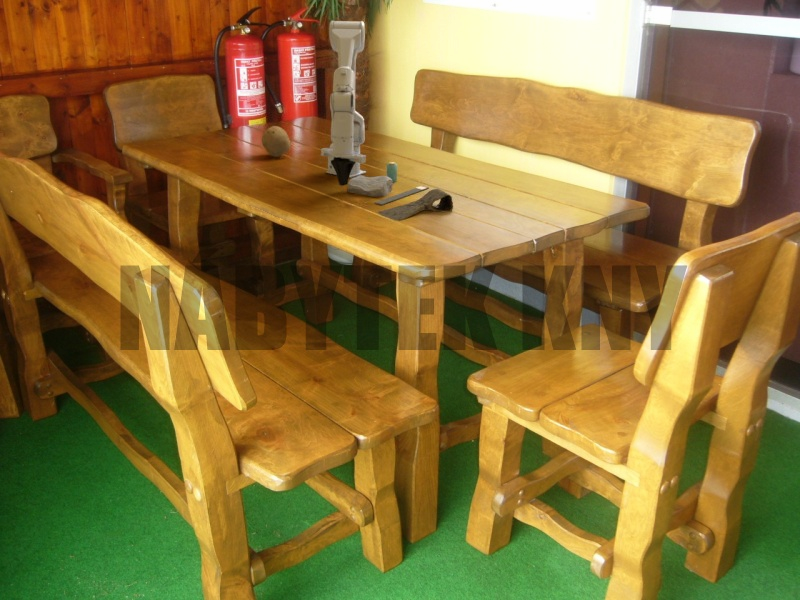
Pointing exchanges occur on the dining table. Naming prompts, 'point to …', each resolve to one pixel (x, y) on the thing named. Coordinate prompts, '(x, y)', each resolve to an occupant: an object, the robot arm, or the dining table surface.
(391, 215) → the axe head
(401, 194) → the bar
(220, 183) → the dining table surface
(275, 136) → the brown oval lump
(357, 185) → the stone block
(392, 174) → the teal cylinder cream end
